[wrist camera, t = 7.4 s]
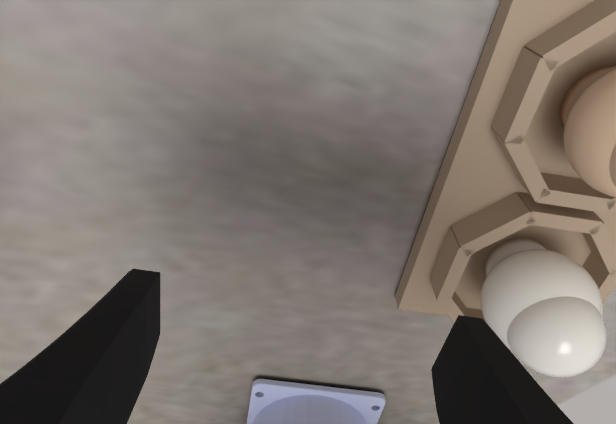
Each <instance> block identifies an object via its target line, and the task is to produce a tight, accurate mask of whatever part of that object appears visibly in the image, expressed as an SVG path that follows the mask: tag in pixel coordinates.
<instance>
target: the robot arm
mask: <svg viewBox="0 0 616 424" xmlns="http://www.w3.org/2000/svg"><path fill="white" fill-rule="evenodd" d="M159 336H160V272H153V271H146V270H139V269H132V270H131V271H129V272H128V273H127V274H126V275H125V276H124V277H123V278H122V279H121V280H120V281H119V282H118V283H117V284H116V285H115V286H114V287H113V288H112V289H111V290H110V291H109V292H108V293H107V294H106V295H105V296H104V297H103V298H102V299H101V300H100V301H99V302H98V303H96V304H95V305H94V306H93V307H92V308H91V309H90V310H89V311H88V312H87V313H86V314H85V315H84V316H82V317H81V318H80V319H79V320H78V321H77V322H76V323H75V324H73V325H72V326H71V327H70V328H69V329H68V330H67V331H66V332H65V333H63V334H62V335H61V336H60V337H59V338H58V339H56V340H55V341H54V342H53V343H52V344H50V345H49V346H48V347H47V348H45V349H44V350H43V351H42V352H41V353H39V354H38V355H37V356H36V357H34V358H33V359H32V360H31V361H29V362H28V363H27V364H26V365H25V366H23V367H22V368H21V369H19V370H18V371H17V372H16V373H14V374H13V375H12V376H10V377H9V378H8V379H6V380H5V381H4V382H2V383H1V384H0V424H127V421H128V419H129V417H130V415H131V412H132V410H133V408H134V405H135V403H136V401H137V398H138V396H139V394H140V391H141V389H142V387H143V384H144V382H145V380H146V377H147V375H148V372H149V369H150V365H151V362H152V359H153V356H154V352H155V349H156V346H157V342H158V339H159ZM432 378H433V387H434V395H435V402H436V409H437V414H438V418H439V422H440V424H573V423H572V421H571V420H570V419H569V418H568V417H567V416H566V415H565V414H564V413H563V412H562V411H561V410H560V408H558V406H557V405H556V404H555V403H554V402H553V401H552V399H551V398H550V397H549V396H548V395H547V394H546V393H545V392H544V390H543V389H542V388H541V387H540V386H539V385H538V383H537V382H536V381H535V380H534V379H533V378H532V376H531V375H530V374H529V373H528V372H527V371H526V369H525V368H524V367H523V366H522V365H521V363H520V362H519V361H518V360H517V359H516V357H515V356H514V355H513V354H512V353H511V351H510V350H509V349H508V348H507V347H506V345H505V344H504V343H503V342H502V341H501V339H500V338H499V337H498V336H497V335H496V333H495V332H494V331H493V330H492V329H491V328H490V326H489V325H488V324H487V323H486V322H485V321H484V320H483V319H482V318H476V317H469V316H462V315H458V317H457V319H456V321H455V323H454V325H453V327H452V329H451V331H450V333H449V335H448V337H447V339H446V341H445V343H444V345H443V347H442V349H441V351H440V353H439V355H438V357H437V359H436V361H435V363H434V365H433V367H432ZM385 404H386V399H385V396H384V395H383V394H382V393H378V392H370V391H361V390H353V389H344V388H336V387H327V386H319V385H310V384H302V383H293V382H285V381H276V380H268V379H257V380H255V381H254V382H253V384H252V390H251V397H250V404H249V410H248V417H247V423H246V424H377V423H378V420H379V418H380V416H381V413H382V411H383V408H384V406H385Z"/></svg>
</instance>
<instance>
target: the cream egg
mask: <svg viewBox="0 0 616 424" xmlns="http://www.w3.org/2000/svg"><path fill="white" fill-rule="evenodd" d="M484 271H485V274H486V276H487V277H486V278H485V281H484V283H483V286H482V290H481V309H482V313H483V317H484V319H485V322H486V323H487V324H488V325H489V326H490V328H491V329H492V330H493V331H494V332H495V333H496V335H497V336H498V337H499V338H500V339H501V341H502V342H503V343H504V344H505V345H506V347H507V348H509V349H510V350H512V351H513V352H514V354H515V355H516V356H517V357H518V358H519V359H520V360H521V361H522V362H523V363H524V364H525V365H527V366H528V367H529V368H531V369H533V370H535V371H537V372H539V373H542V374H545V375H548V376H554V377H569V376H575V375H578V374H581V373H583V372H585V371H587V370H588V369H590V368H591V367H593V366H594V365H595V364H596V363H597V361H598V360H599V359H600V358H601V356H602V354H603V352H604V349H605V345H606V339H607V333H606V327H605V323H604V320H603V318H602V317H603V303H602V298H601V294H600V291H599V289H598V286H597V284H596V283H595V281H594V280H593V278H592V277H591V275H590V274H589V273H588V272H587V271H586V270H585V269H584V268H583V267H582V266H581V265H580V264H579V263H577V262H576V261H574V260H573V259H571V258H569V257H567V256H565V255H563V254H560V253H557V252H554V251H550V250H547V249H546V248H545V246H544V245H543V244H542V243H540V242H539V241H537V240H534V239H530V238H515V239H511V240H507V241H505V242H503V243H501V244H499V245H498V246H496V247H495V248H494V249H493V250H492V251H491V252H490V253H489V254H488V256H487V257H486V259H485V262H484Z"/></svg>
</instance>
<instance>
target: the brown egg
mask: <svg viewBox="0 0 616 424" xmlns="http://www.w3.org/2000/svg"><path fill="white" fill-rule="evenodd" d="M560 121H561V124H562V126H563V128H564V134H563V142H564V148H565V153H566V156H567V158H568V161H569V163H570V164H571V166H572V168H573V170H574V171H575V172H576V173H577V174H578V176H579V177H580V178H581V179H582V180H583V181H585V182H586V183H587V184H588V185H590V186H591V187H592V188H594V189H596V190H598V191H600V192H602V193H604V194H606V195H609V196H612V197H615V198H616V65H609V66H603V67H600V68H597V69H594V70H592V71H590V72H588V73H586V74H585V75H583V76H582V77H581V78H579V79H578V80H577V81H576V82H575V83H574V84H573V85H572V86H571V87H570V88H569V90H568V91H567V93H566V95H565V96H564V98H563V101H562V103H561V107H560Z"/></svg>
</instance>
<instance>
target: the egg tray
mask: <svg viewBox="0 0 616 424" xmlns="http://www.w3.org/2000/svg"><path fill="white" fill-rule="evenodd" d="M609 65H616V0H501V2H500V4H499V7H498V10H497V13H496V15H495V18H494V21H493V24H492V27H491V29H490V32H489V35H488V38H487V41H486V43H485V46H484V49H483V52H482V54H481V57H480V60H479V63H478V66H477V68H476V71H475V74H474V77H473V80H472V82H471V85H470V88H469V91H468V94H467V96H466V99H465V102H464V105H463V107H462V110H461V113H460V116H459V119H458V121H457V124H456V127H455V130H454V133H453V135H452V138H451V141H450V144H449V146H448V149H447V152H446V155H445V158H444V160H443V163H442V166H441V169H440V172H439V174H438V177H437V180H436V183H435V185H434V188H433V191H432V194H431V197H430V199H429V202H428V205H427V208H426V211H425V213H424V216H423V219H422V222H421V225H420V227H419V230H418V233H417V236H416V238H415V241H414V244H413V247H412V250H411V252H410V255H409V258H408V261H407V264H406V266H405V269H404V272H403V275H402V277H401V280H400V283H399V286H398V289H397V291H396V294H395V297H396V302H397V307H398V309H399V310H406V311H414V312H421V313H429V314H436V315H444V316H449V318H450V319H451V320H452V321H453V323H455V321H456V319H457V317H458V315H462V316H469V317H476V318H482V319H483V320H484V321H485V319H484V317H483V313H482V309H481V290H482V286H483V283H484V281H485V278H486V277H487V276H486V274H485V271H484V262H485V259H486V257H487V256H488V254H489V253H490V252H491V251H492V250H493V249H494V248H495V247H496V246H498V245H499V244H501V243H503V242H505V241H507V240H511V239H515V238H530V239H534V240H537V241H539V242H540V243H542V244H543V245H544V246H545V248H546V249H547V250H550V251H554V252H557V253H560V254H563V255H565V256H567V257H569V258H571V259H573V260H574V261H576V262H577V263H579V264H580V265H581V266H582V267H583V268H584V269H585V270H586V271H587V272H588V273H589V274H590V275H591V277H592V278H593V280H594V281H595V283H596V284H597V286H598V289H599V291H600V294H601V298H602V303H604V302H605V300H606V299H607V298H608V296H609V295H610V293H611V292H612V290H613V289H614V288H615V286H616V198H615V197H612V196H609V195H606V194H604V193H602V192H600V191H598V190H596V189H594V188H592V187H591V186H590V185H588V184H587V183H586V182H585V181H583V180H582V179H581V178H580V177H579V176H578V174H577V173H576V172H575V171H574V170H573V168H572V166H571V164H570V163H569V161H568V158H567V156H566V153H565V148H564V142H563V134H564V128H563V126H562V124H561V121H560V107H561V103H562V101H563V98H564V96H565V95H566V93H567V91H568V90H569V88H570V87H571V86H572V85H573V84H574V83H575V82H576V81H577V80H578V79H579V78H581V77H582V76H583V75H585V74H586V73H588V72H590V71H592V70H594V69H597V68H600V67H603V66H609Z"/></svg>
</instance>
